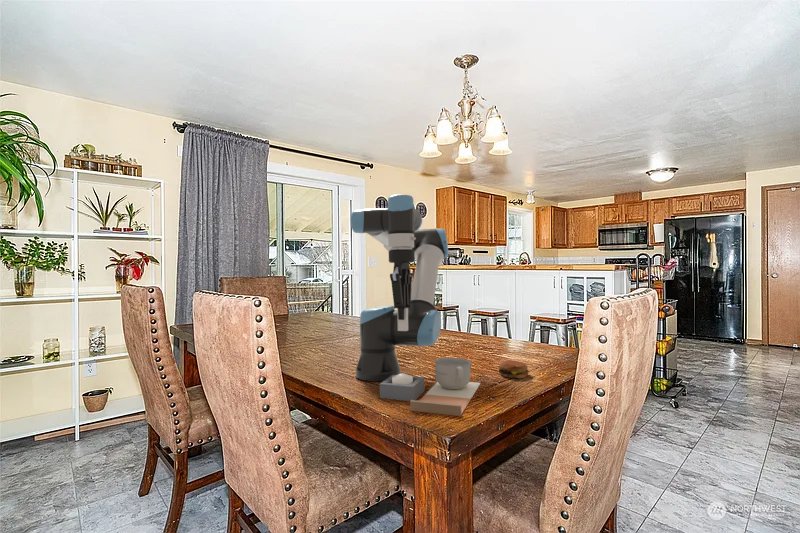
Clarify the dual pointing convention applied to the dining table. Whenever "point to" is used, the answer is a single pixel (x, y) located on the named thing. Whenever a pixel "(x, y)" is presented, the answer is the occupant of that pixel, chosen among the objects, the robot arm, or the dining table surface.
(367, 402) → the dining table surface
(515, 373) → the burger
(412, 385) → the grey square tray
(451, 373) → the teacup
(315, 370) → the dining table surface
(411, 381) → the white faceted ball
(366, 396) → the dining table surface
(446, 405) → the board
